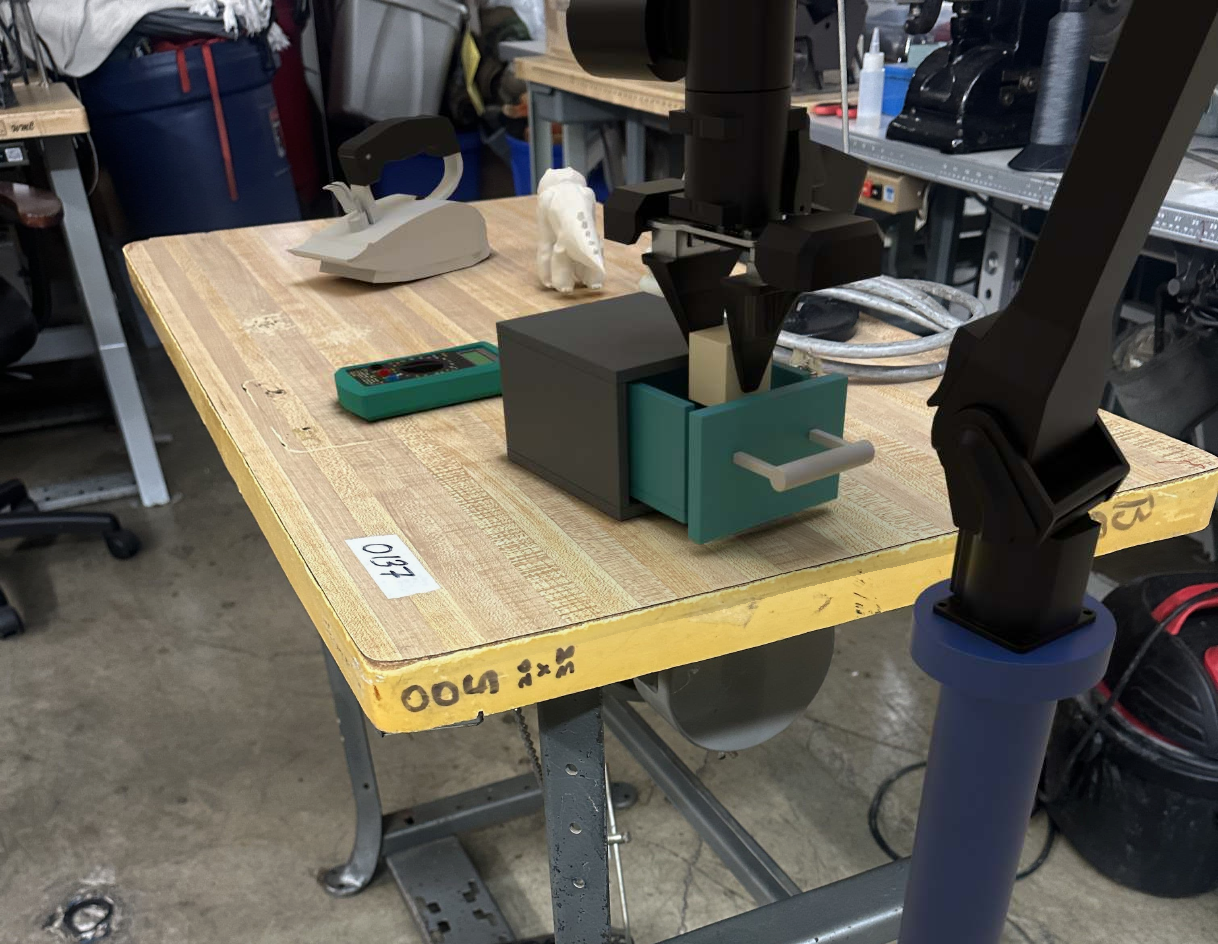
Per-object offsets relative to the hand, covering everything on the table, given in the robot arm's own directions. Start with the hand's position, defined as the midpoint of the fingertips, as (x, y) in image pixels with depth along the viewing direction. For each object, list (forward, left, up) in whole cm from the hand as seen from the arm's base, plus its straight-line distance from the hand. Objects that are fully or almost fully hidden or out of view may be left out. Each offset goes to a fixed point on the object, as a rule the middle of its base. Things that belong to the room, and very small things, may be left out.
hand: (729, 383), depth 72 cm
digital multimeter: (+34, +4, -9) cm, 36 cm away
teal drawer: (0, 0, -8) cm, 8 cm away
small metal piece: (+16, -21, -8) cm, 28 cm away
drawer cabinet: (+10, 0, -8) cm, 13 cm away
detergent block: (0, 0, -1) cm, 1 cm away
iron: (+77, -15, -8) cm, 79 cm away
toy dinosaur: (+54, -24, -8) cm, 60 cm away
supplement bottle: (+27, -16, -8) cm, 33 cm away
